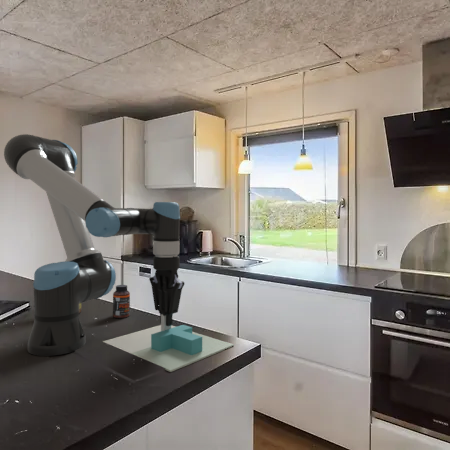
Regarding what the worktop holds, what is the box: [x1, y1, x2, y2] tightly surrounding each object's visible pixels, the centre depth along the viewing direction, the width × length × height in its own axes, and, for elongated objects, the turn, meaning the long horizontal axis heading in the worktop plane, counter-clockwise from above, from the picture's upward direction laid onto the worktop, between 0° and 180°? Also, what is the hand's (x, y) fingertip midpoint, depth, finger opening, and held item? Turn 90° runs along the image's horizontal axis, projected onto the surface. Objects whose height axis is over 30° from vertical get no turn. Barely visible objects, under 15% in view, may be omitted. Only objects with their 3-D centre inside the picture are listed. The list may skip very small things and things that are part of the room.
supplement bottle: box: [112, 284, 131, 319], centre depth 140 cm, size 6×6×11 cm
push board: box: [102, 324, 235, 373], centre depth 112 cm, size 24×30×1 cm
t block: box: [151, 324, 202, 355], centre depth 108 cm, size 12×12×4 cm
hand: (166, 335), depth 112 cm, fingers closed
